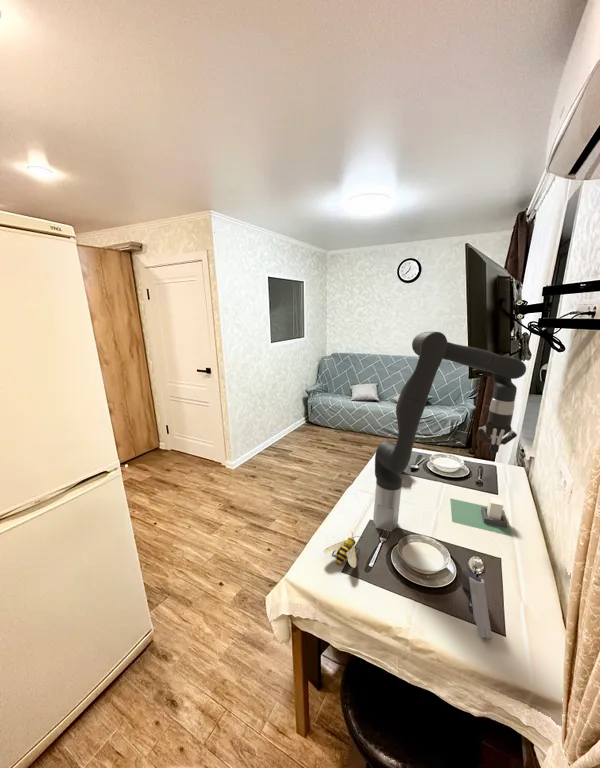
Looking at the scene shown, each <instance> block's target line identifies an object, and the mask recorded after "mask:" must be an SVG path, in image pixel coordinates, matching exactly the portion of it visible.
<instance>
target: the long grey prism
mask: <svg viewBox="0 0 600 768" xmlns="http://www.w3.org/2000/svg"><path fill="white" fill-rule="evenodd" d="M460 574H461V575H460V576H461V587H462V591H468V593H469V600H470V605H471V607H472V612H473V620H474V621H475V624H476V629H477V635H478V636H479V637H481V638H483V639H487V640H490V639H493V635H492V629H491V623H490V615H489V609H488V601H487V594H486V588H485V580H484V579H482V578H478V577H477V576H476V575H475V574H474V573H473V572H472V571H467V570H461V572H460Z"/></svg>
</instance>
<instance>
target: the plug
mask: <svg viewBox="0 0 600 768" xmlns="http://www.w3.org/2000/svg"><path fill="white" fill-rule="evenodd" d="M487 506H488V508H487V513H486V515H487V517H488V518H492V519H497V520H501V515H502V510H504V503H503V500H502V499H501V498H496V497H492V496H489V498H488V504H487Z"/></svg>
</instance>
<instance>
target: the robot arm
mask: <svg viewBox="0 0 600 768" xmlns="http://www.w3.org/2000/svg"><path fill="white" fill-rule="evenodd" d="M411 348H412V351H413V352H414V353H415V354H416V355H417V356H418V360H417V363H416V366H415V369H414V371H413V373H412V374H411V376H410V377H409V379H408V380H407V381H406V383H405V384H404V385H403V387H402V389H401V391H400V393H399V397H398V400H397V403H396V406H395V414H396V421H397V423H396V424H397V429H398V430H397V431H398V434H397V439H396V440H397V441H396V443H394V442H392V441H390V440H384V441H382V442H381V443H380V444H378V446H377V448H376V450H375V455H374V456H375V457H374V476H375V479H376V481H375V493H374V505H373V519H372V521H373V524H374V526H375V529H380V530H383V529H386V530H389V531H388V532H391V533H393V531H394V530H395V529H397V527H398V524H399V523H398V522H399V515H400V504H401V503H400V502H401V495H402V486H403V485H402V484H403V478H402V476H401V474H402V473H403V472H404V471H405V470H406V469H407V467H408V466H409V462H410V460H411V457H412V451H413V447H414V442H415V439H416V435H417V433H418V432H417V431H418V429H419V425H420V422H421V419H422V416H423V413H424V410H425V408H426V404H427V403H428V402H427V401H428V398H429V395H430V392H431V389H432V386H433V383H434V380H435V377H436V375H437V373H438V371H439V368H440V365H441V364H442V361H443V360H446V361H450V362H453V363H456V364H460V365H462V366H465V367H469V368H473V369H476V370H479V371H484V372H489V373H492V377H493V378H492V380H493V385H494V386H493V390H492V391H493V393H492V398H491V400H490V405H489V408H488V409H489V411H488V415H487V421H486V423H485V424H484V425H483V426H478V431H479V432H480V434H481V436H482V437H483V438H484V440H485V441H486V442H487V443H489V452H491V454H494V455H496V454H497V453H499V450H500V445H502V446H503V445H507V444H508V443H509V442H511V441H513V440H514V439H515V438H516V437H517V436H518V434H517V433H516V432H515V431H514V430H513V429H512V426H511V425H512V420H513V416H514V411H515V400H516V395H517V386H516V384H514V383H513V382H512V381H513V380H516V379H519V378H522V377H523V376H524V375H525V374H526V372H527V366H526V364H525V362H524V361H522V360H520V359H518V358H515V357H514V358H513V357H510V356H506V355H505V356H504V355H500V354H497V353H495V352H492V351H488V350H486V349H482V348H478V347H473V346H469V345H461V344H457V343H453V342H450V341H449V342H448V339H447V337H446V335H445V334H444V333H443V332H440V331H423V332H420V333H419V334H417V335H415V337H414V338H413V339H412V342H411ZM493 374H494V375H493ZM487 431H488V433H489V434H490V437H489V436H488V434H487V433H486V432H487ZM399 473H400V474H399ZM386 530H385V531H386Z"/></svg>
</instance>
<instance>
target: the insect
mask: <svg viewBox="0 0 600 768" xmlns="http://www.w3.org/2000/svg"><path fill="white" fill-rule="evenodd" d="M351 535H352V537H348V538H347V539H345V540H343V541H340V542H337V543H335V544H333V545H330V546H328V547H327V548H325V549H324V550H323V553H325V554H330V553H331V555H334V554H335V553H336V555H335V559H336V564H337V566H340V565H342V564H343V563H345V562H346V560H347V561H348V564H349V565H350V567H351V568H353V569H355V568H357V564H358V562H357V561H358V560H359V559H360V558H359V556H358V554H357V553H356V550H359V551H361V550H360V548H358V547H355V546H356V540H355V539H354V538H356V537H357V538H361V539H363V537H361V536H358V535H357V536H354V535H353V533H351ZM357 559H358V560H357Z"/></svg>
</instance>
